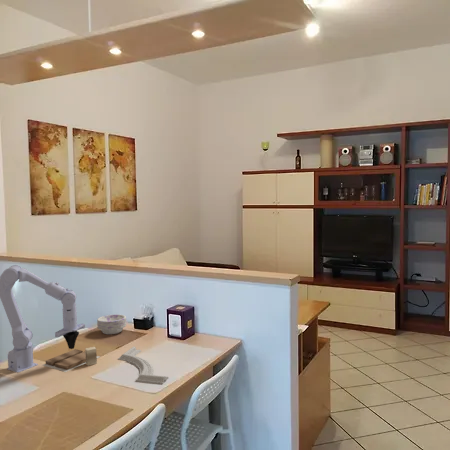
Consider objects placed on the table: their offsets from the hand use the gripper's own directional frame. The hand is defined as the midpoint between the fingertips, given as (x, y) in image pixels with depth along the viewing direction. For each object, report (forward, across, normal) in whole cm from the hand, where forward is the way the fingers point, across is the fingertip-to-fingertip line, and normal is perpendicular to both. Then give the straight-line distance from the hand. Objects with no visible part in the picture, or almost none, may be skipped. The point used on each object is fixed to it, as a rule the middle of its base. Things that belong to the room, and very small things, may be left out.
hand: (71, 348), depth 189 cm
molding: (+7, +12, -32) cm, 35 cm away
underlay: (+6, 0, 0) cm, 6 cm away
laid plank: (+6, 0, +5) cm, 8 cm away
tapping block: (+2, +3, -9) cm, 10 cm away
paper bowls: (+6, +39, +16) cm, 42 cm away
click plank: (+6, 0, -3) cm, 6 cm away
